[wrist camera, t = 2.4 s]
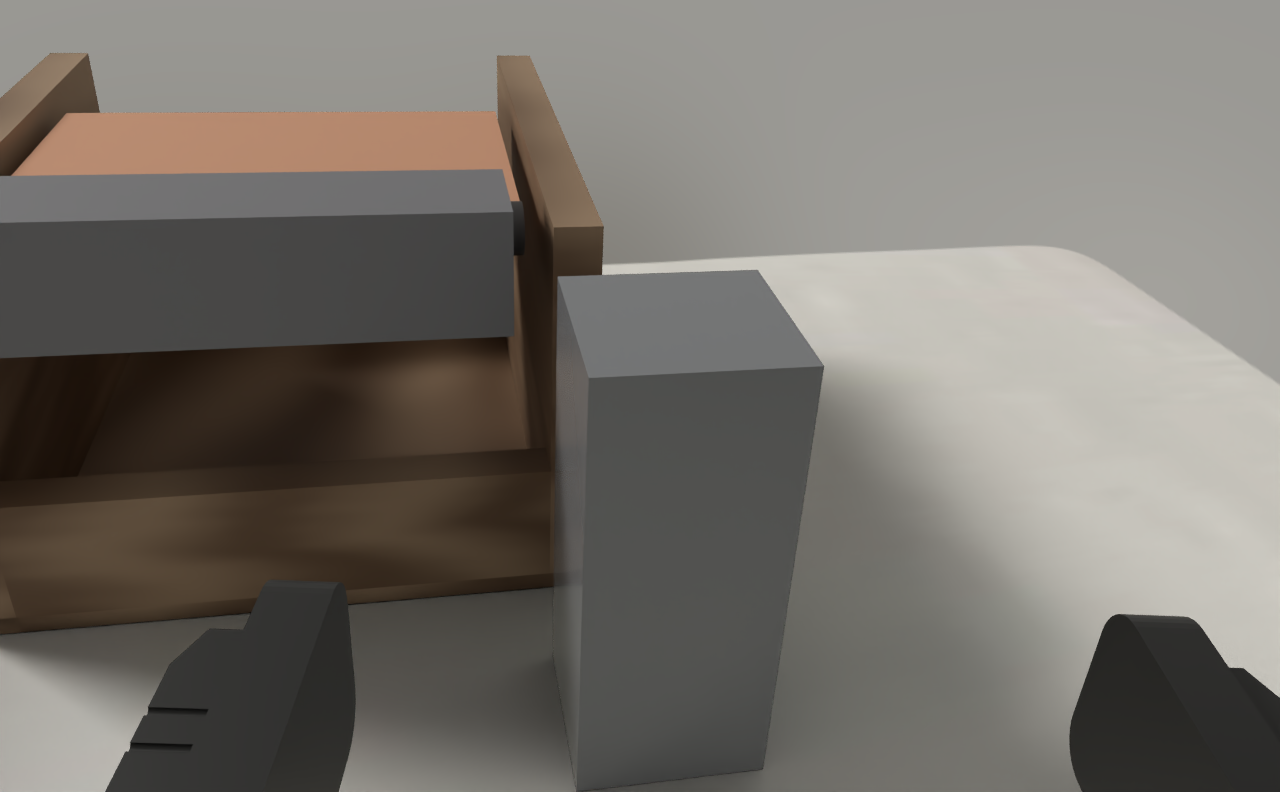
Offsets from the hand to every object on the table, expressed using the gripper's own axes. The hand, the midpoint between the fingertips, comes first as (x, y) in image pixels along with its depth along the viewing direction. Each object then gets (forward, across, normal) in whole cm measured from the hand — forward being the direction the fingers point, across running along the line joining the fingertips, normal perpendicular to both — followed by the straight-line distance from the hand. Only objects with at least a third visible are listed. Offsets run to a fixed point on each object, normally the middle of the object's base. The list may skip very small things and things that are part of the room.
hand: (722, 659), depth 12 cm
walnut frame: (+23, +11, +12) cm, 28 cm away
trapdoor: (+20, +10, +4) cm, 23 cm away
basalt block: (+12, 0, +12) cm, 17 cm away
